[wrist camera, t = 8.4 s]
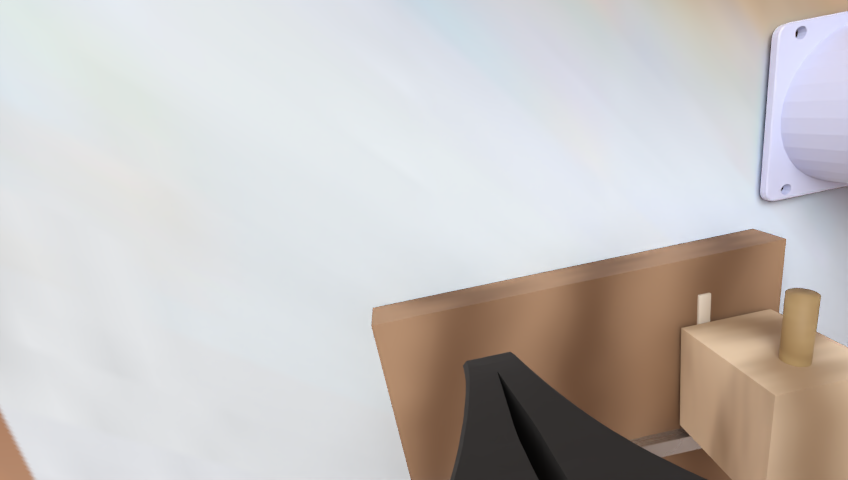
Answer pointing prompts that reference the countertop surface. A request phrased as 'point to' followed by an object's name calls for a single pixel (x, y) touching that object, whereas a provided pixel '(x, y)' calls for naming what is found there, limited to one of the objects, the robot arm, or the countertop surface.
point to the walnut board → (574, 339)
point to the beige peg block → (768, 393)
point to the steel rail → (667, 443)
